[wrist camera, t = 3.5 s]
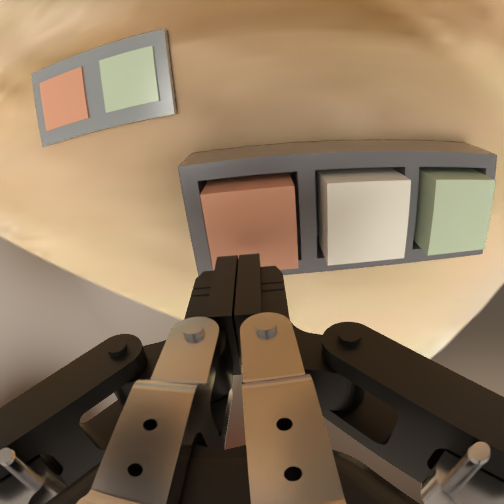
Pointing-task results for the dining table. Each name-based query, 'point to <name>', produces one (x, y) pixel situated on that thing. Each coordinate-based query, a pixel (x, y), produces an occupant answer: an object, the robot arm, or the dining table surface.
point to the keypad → (306, 185)
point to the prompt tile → (105, 87)
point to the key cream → (362, 214)
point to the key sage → (452, 209)
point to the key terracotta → (252, 218)
